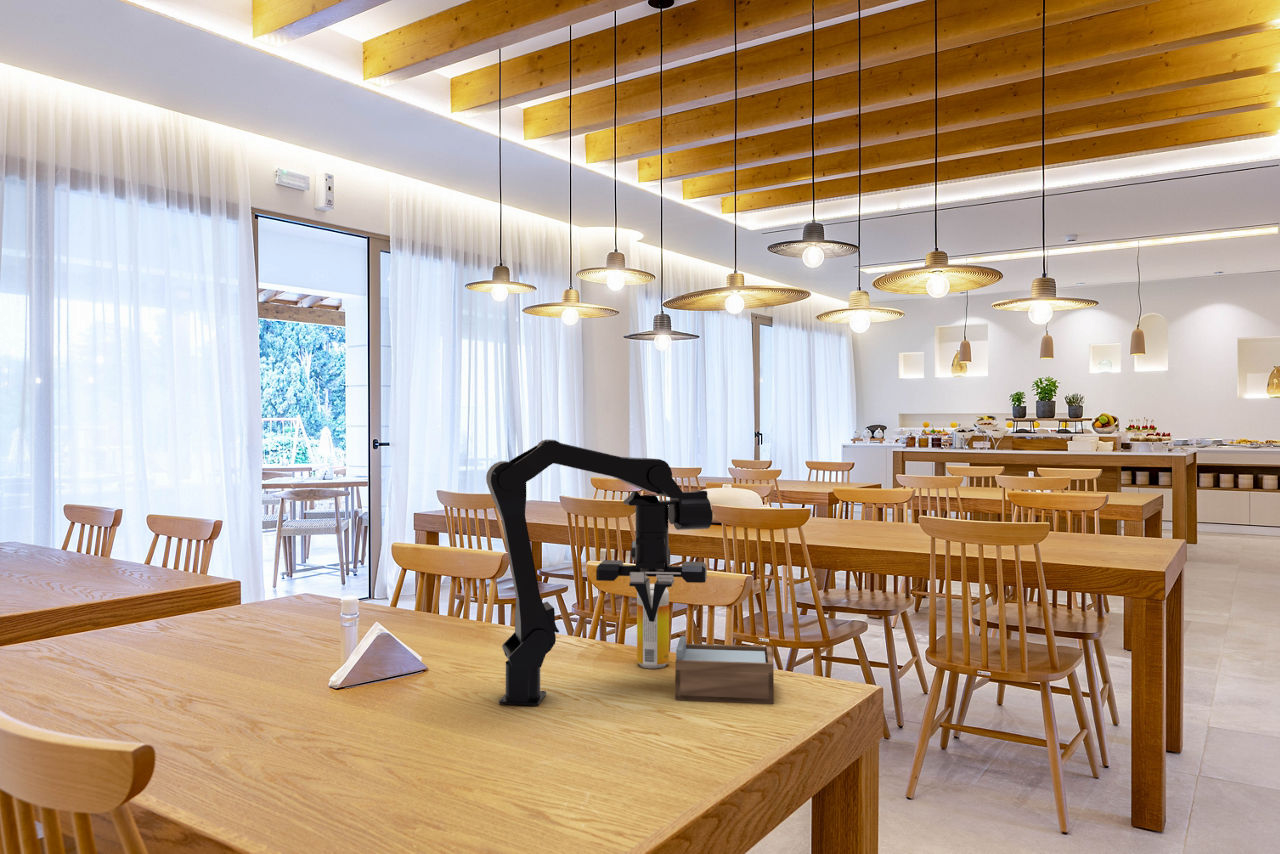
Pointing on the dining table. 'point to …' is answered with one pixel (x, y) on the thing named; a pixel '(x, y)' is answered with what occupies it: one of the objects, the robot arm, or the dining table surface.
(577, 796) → the dining table surface
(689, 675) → the walnut box
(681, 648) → the lid
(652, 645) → the beer can
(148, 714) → the dining table surface
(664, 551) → the robot arm
